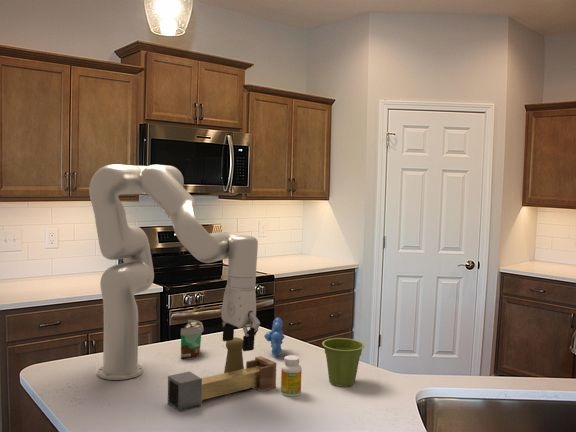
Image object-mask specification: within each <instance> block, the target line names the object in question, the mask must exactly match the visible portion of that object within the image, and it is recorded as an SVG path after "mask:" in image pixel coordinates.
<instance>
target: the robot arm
mask: <svg viewBox="0 0 576 432" xmlns="http://www.w3.org/2000/svg"><path fill="white" fill-rule="evenodd" d="M184 181H185V180H184V176H183V174H182V172H181V171H180V170H179V169H178V168H177V167H175V166H173V165H166V164H150V165H147V166H146V165H131V164H129V165H128V164H119V163H117V164H116V163H115V164H113V163H112V164H106V165H105V166H102V167H100V168H98V169H97V170H96V172H95V173H94V174H93V175H92V177H91V179H90V182H89V185H88V186H89V187H88V188H89V191H88V193H89V198H90V203H91V206H92V211H93V214H94V219H95V227H96V233H97V239H98V244H99V249H100V252H101V255H102V256H103V257H104V258H105V259H106V260H110V261H114V260H122V261H123V263H118V264H115V265H112V266H110V267H108V268H107V269H106V270H105V271H104V272H103V273H102V275H101V277H100V282H99V284H100V292H101V296H102V305H103V349H102V350H103V357H102V358H103V363H102V365H103V366H101V367H99V368H98V369H97V376H98V377H99V378H101V379H104V380H109V381H121V380H128V379H133V378H137V377H138V376H141V374H143V372H144V367H143V366H142V365H141V364H139V363H138V360H139V359H138V357H139V352H138V351H139V308H138V304H137V301H136V298H135V295H137V294H140V293H142V292H145V291H147V290H148V289H150V288H151V286H152V285H153V282H154V279H155V272H154V266H153V265H154V264H153V257H152V254H151V253H152V252H151V247H150V242H149V238H148V236H147V234H146V232H145V231H144V230H143V229H142V228H141V227H139V226H137V225H133V224H131V225H129V223H128V222H127V221H128V220H127V213H126V209H125V206H124V204H123V203H122V202H121V200H120V198H119V196H120V195H148V196H149V197H150V199H151V200H152V201H153V202H154V203H156V205H157V206H158V207H159V208H160V209H161V211H163V213H164V214H165V215H166V216H167V217H168V218H169V219H170V221H171V226H172V228H173V230H174V234H175V235H176V238H177V239H178V241H179V242H180V243H181V244H182V246H183V247H184V248H185V249H186V250H187V251H188V252H189V253H190V255H192V256H193V257H194V258H195V259H196V260H197V261H198V262H199V261H200V262H201V263H205V264H211V263H214V262H218V261H223V260H227V261H228V265H227V276H226V277H227V281H226V286H225V290H224V293H223V299H222V307H220V309H219V310H220V313H221V320H222V342H226V341H231V340H233V338H234V336H235V335H234V333H235V328H238V329H241V328H242V330H243V333H244V335H243V337H242V340H243V349H242V352H250V351H254V349H255V337H256V335H257V332H258V331H259V328H260V325H261V322H260V319H258V317H257V295H256V282H257V280H256V278H257V264H258V263H257V261H258V248H259V247H258V242H259V241H258V239H257V238H256V237H254V236H251V235H239V234H238V235H236V234H232V233H227V232H222V231H219V232H213V233H211V232H210V233H209V232H208V231H207V230H206V229H205V227H204V226H203V225H202V224H201V223H200V222H199V221H198V219H197V218H196V216H195V213H194V208H195V206H196V200H195V198H194V197H193V196H192V195H191V194H190V192H189V191H187V190H186V189H185V187H184ZM248 328H249V329H248Z"/></svg>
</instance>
